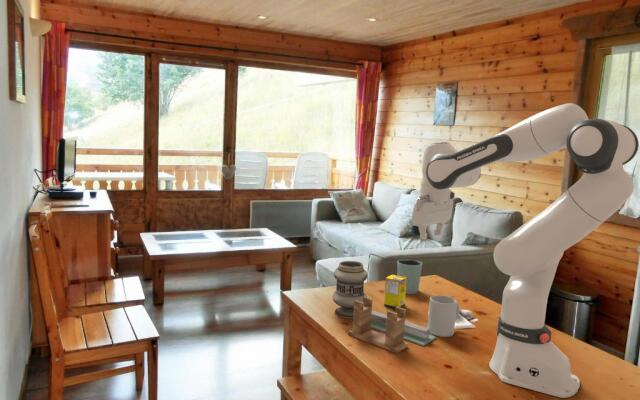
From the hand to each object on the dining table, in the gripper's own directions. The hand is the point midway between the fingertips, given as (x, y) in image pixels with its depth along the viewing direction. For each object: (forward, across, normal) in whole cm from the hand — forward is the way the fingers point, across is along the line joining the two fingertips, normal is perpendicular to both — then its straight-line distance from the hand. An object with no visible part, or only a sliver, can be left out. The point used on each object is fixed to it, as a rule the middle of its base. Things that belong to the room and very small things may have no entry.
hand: (430, 237), depth 155 cm
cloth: (+32, +20, -2) cm, 38 cm away
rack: (+31, -18, +6) cm, 36 cm away
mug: (+31, +5, -5) cm, 32 cm away
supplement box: (+31, +13, +19) cm, 39 cm away
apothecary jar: (+31, -6, +26) cm, 41 cm away
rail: (+30, -7, +6) cm, 32 cm away
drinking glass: (+31, +33, +25) cm, 52 cm away
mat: (+31, -7, +6) cm, 32 cm away
